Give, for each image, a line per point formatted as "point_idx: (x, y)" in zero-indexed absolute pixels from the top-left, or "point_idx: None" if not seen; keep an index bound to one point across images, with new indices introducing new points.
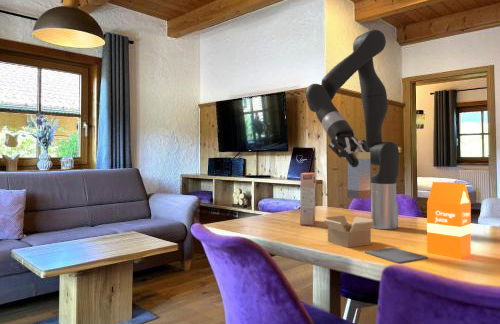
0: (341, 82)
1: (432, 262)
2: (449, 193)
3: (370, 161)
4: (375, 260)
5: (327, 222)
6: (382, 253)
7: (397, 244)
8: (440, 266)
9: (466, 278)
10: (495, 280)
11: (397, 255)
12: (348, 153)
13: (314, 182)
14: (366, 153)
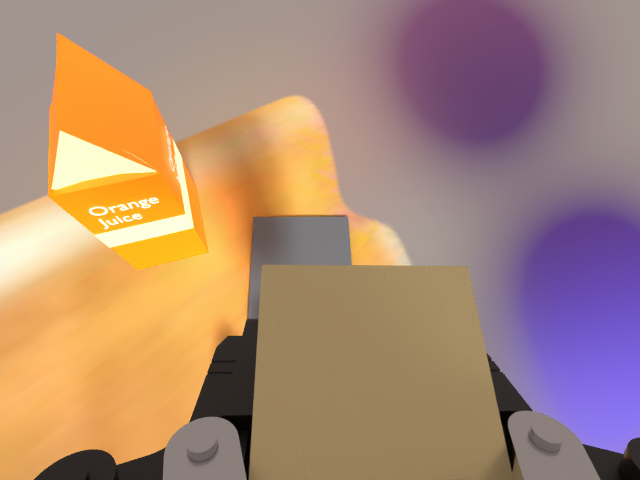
0: None
1: (274, 196)
2: (113, 97)
3: (248, 321)
4: (376, 255)
5: None
6: None
7: (186, 362)
8: (285, 173)
9: (309, 120)
10: (277, 100)
11: (307, 253)
12: (552, 424)
13: None
14: (331, 270)
